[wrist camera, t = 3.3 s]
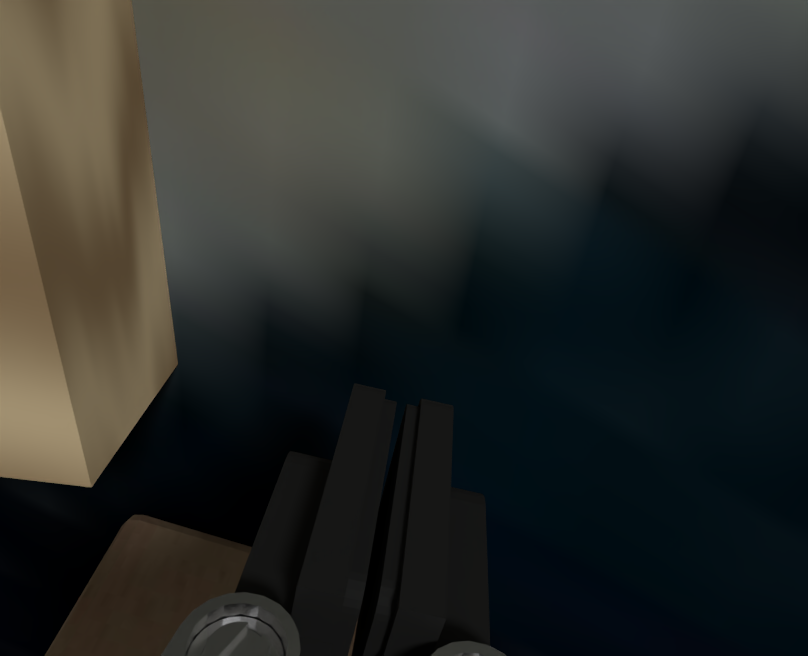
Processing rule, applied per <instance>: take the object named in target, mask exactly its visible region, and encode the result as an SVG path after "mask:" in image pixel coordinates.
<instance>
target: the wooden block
mask: <svg viewBox="0 0 808 656" xmlns="http://www.w3.org/2000/svg"><path fill="white" fill-rule="evenodd" d="M251 549H252V547H250V546H246V545H243V544H239V543H236V542H233V541H229V540H226V539H223V538H219V537H216V536H213V535H209V534H206V533H203V532H199V531H196V530H193V529H189V528H186V527H183V526H179V525H176V524H173V523H169V522H166V521H163V520H159V519H156V518H152V517H149V516H146V515H133V516H132V517H131V518H130V519H128V520H127V521H126V522H125V523H124V524H123V525H122V527H121V528H120V530H119V532H118V533H117V535H116V537H115V539H114V540H113V542H112V544H111V545H110V547H109V549H108V550H107V552H106V554H105V555H104V557H103V559H102V560H101V562H100V564H99V565H98V567H97V569H96V570H95V572H94V574H93V575H92V577H91V579H90V580H89V582H88V584H87V586H86V587H85V589H84V591H83V592H82V594H81V596H80V597H79V599H78V601H77V602H76V604H75V606H74V607H73V609H72V611H71V612H70V614H69V616H68V617H67V619H66V621H65V622H64V624H63V626H62V628H61V629H60V631H59V633H58V634H57V636H56V638H55V639H54V641H53V643H52V644H51V646H50V648H49V649H48V651H47V653H46V654H45V656H161V654H162V653H163V651H164V650H165V648H166V646H167V645H168V643H169V642H170V640H171V639H172V637H173V635H174V634H175V632H176V631H177V629H178V628H179V626H180V625H181V624H182V622H183V621H184V620H185V619H186V618H187V617H188V615H189V614H190V613H191V612H192V611H193V610H194V609H196V608H197V607H199V606H200V605H202V604H203V603H205V602H206V601H208V600H209V599H212V598H215V597H218V596H221V595H224V594H227V593H235V590H236V588H237V585H238V583H239V580H240V577H241V575H242V572H243V569H244V567H245V564H246V562H247V559H248V556H249V554H250V551H251ZM357 621H358V620H357ZM356 627H357V624H356ZM356 627H355V631H354V635H353V638H352V642H351V646H350V649H349V653H348V656H352V650H353V644H354V639H355V633H356Z"/></svg>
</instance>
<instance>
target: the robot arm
mask: <svg viewBox="0 0 808 656" xmlns="http://www.w3.org/2000/svg"><path fill="white" fill-rule="evenodd" d="M385 394H386V390H382V389H377V388H373V387H368V386H364V385H360V384H354V387H353V390H352V393H351V397H350V401H349V404H348V408H347V411H346V415H345V418H344V422H343V425H342V429H341V432H340V436H339V439H338V443H337V446H336V450H335V453H334V457H333V460H328V459H324V458H319V457H315V456H310V455H306V454H301V453H297V452H293V451H290V452H289V453H288V455H287V458H286V460H285V462H284V465H283V468H282V470H281V473H280V475H279V478H278V481H277V483H276V486H275V488H274V491H273V494H272V496H271V499H270V502H269V504H268V507H267V509H266V512H265V515H264V517H263V520H262V522H261V525H260V528H259V530H258V533H257V536H256V538H255V541H254V543H253V546H252V549H251V551H250V554H249V556H248V559H247V562H246V564H245V567H244V569H243V572H242V575H241V577H240V580H239V583H238V585H237V588H236V590H235V593H227V594H224V595H221V596H218V597H215V598H212V599H209V600H208V601H206V602H205V603H203V604H202V605H200V606H199V607H197V608H196V609H194V610H193V611H192V612H191V613H190V614H189V615H188V617H187V618H186V619H185V620H184V621H183V622H182V624H181V625H180V626H179V628H178V629H177V631H176V632H175V634H174V635H173V637H172V639H171V640H170V642H169V643H168V645H167V646H166V648H165V650H164V651H163V653H162V654H161V656H348V653H349V649H350V646H351V642H352V638H353V635H354V631H355V627H356V624H357V627H356V633H355V639H354V644H353V650H352V656H506V655H505V654H503V653H502V652H500V651H498V650H496V649H494V648H492V647H490V628H489V598H488V568H487V537H486V507H485V498H484V496H483V494H480V493H475V492H471V491H466V490H462V489H457V488H453V487H451V466H452V437H453V406H452V405H448V404H443V403H439V402H434V401H430V400H426V399H421V400H420V402H419V405H418V407H417V406H413V405H408V404H407V405H406V408H405V411H404V415H403V419H402V423H401V426H400V430H399V434H398V438H397V442H396V445H395V449H394V453H393V457H392V460H391V464H390V468H389V472H388V476H387V479H386V483H385V487H384V491H383V495H382V498H381V492H382V487H383V481H384V475H385V469H386V463H387V457H388V451H389V445H390V439H391V434H392V428H393V422H394V416H395V410H396V404H397V402H395V401H391V400H386V399H385ZM380 498H381V502H380ZM379 504H380V506H379ZM357 620H358V621H357Z"/></svg>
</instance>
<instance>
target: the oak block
mask: <svg viewBox="0 0 808 656" xmlns="http://www.w3.org/2000/svg"><path fill="white" fill-rule="evenodd" d="M177 365H178V361H177V353H176V345H175V337H174V330H173V322H172V314H171V306H170V298H169V291H168V283H167V275H166V267H165V259H164V252H163V244H162V236H161V228H160V220H159V212H158V205H157V197H156V189H155V181H154V173H153V166H152V158H151V150H150V142H149V134H148V127H147V119H146V111H145V103H144V95H143V88H142V80H141V72H140V64H139V56H138V49H137V41H136V33H135V25H134V17H133V9H132V2H131V0H0V477H7V478H16V479H24V480H33V481H42V482H50V483H59V484H67V485H76V486H85V487H92V486H93V485H94V483H95V482H96V480H97V479H98V477H99V476H100V475H101V473H102V472H103V470H104V469H105V467H106V466H107V465H108V463H109V462H110V460H111V459H112V457H113V456H114V455H115V453H116V452H117V450H118V449H119V447H120V446H121V445H122V443H123V442H124V440H125V439H126V437H127V436H128V435H129V433H130V432H131V430H132V429H133V427H134V426H135V425H136V423H137V422H138V420H139V419H140V417H141V416H142V415H143V413H144V412H145V410H146V409H147V407H148V406H149V405H150V403H151V402H152V400H153V399H154V397H155V396H156V395H157V393H158V392H159V390H160V389H161V387H162V386H163V385H164V383H165V382H166V380H167V379H168V377H169V376H170V375H171V373H172V372H173V370H174V369H175V368H176V366H177Z"/></svg>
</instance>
